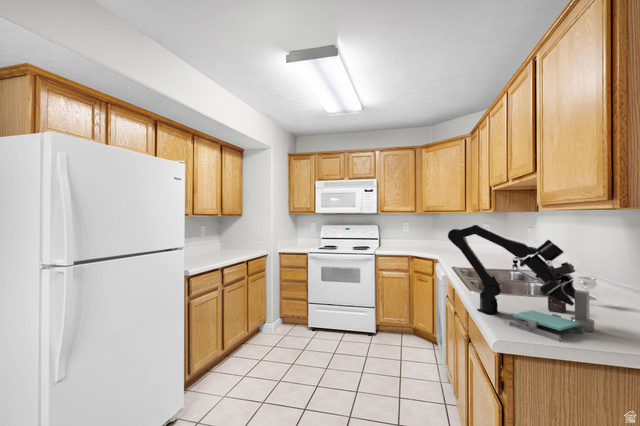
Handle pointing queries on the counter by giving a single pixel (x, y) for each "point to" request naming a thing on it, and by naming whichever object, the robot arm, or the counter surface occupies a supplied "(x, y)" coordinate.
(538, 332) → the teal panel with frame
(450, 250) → the counter surface
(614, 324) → the counter surface
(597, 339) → the counter surface
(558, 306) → the box
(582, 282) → the wineglass
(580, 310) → the gray metal handle
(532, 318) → the trapdoor
